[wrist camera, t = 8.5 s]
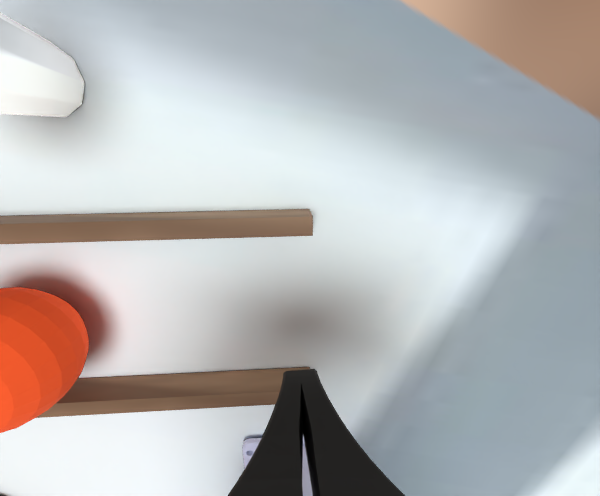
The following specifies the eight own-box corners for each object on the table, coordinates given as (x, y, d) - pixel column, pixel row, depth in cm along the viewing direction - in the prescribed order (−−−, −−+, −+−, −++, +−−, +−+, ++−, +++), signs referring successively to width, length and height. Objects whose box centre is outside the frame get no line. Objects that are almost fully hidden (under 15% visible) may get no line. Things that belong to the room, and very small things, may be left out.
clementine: (-5, 233, 16) (-217, 295, 9) (125, 270, 17) (22, 348, 10) (-10, 349, 18) (-183, 467, 11) (105, 375, 19) (10, 496, 12)
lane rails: (309, 378, 20) (312, 402, 18) (-22, 395, 19) (-55, 422, 17) (309, 208, 16) (312, 216, 14) (-105, 218, 15) (-160, 227, 13)
